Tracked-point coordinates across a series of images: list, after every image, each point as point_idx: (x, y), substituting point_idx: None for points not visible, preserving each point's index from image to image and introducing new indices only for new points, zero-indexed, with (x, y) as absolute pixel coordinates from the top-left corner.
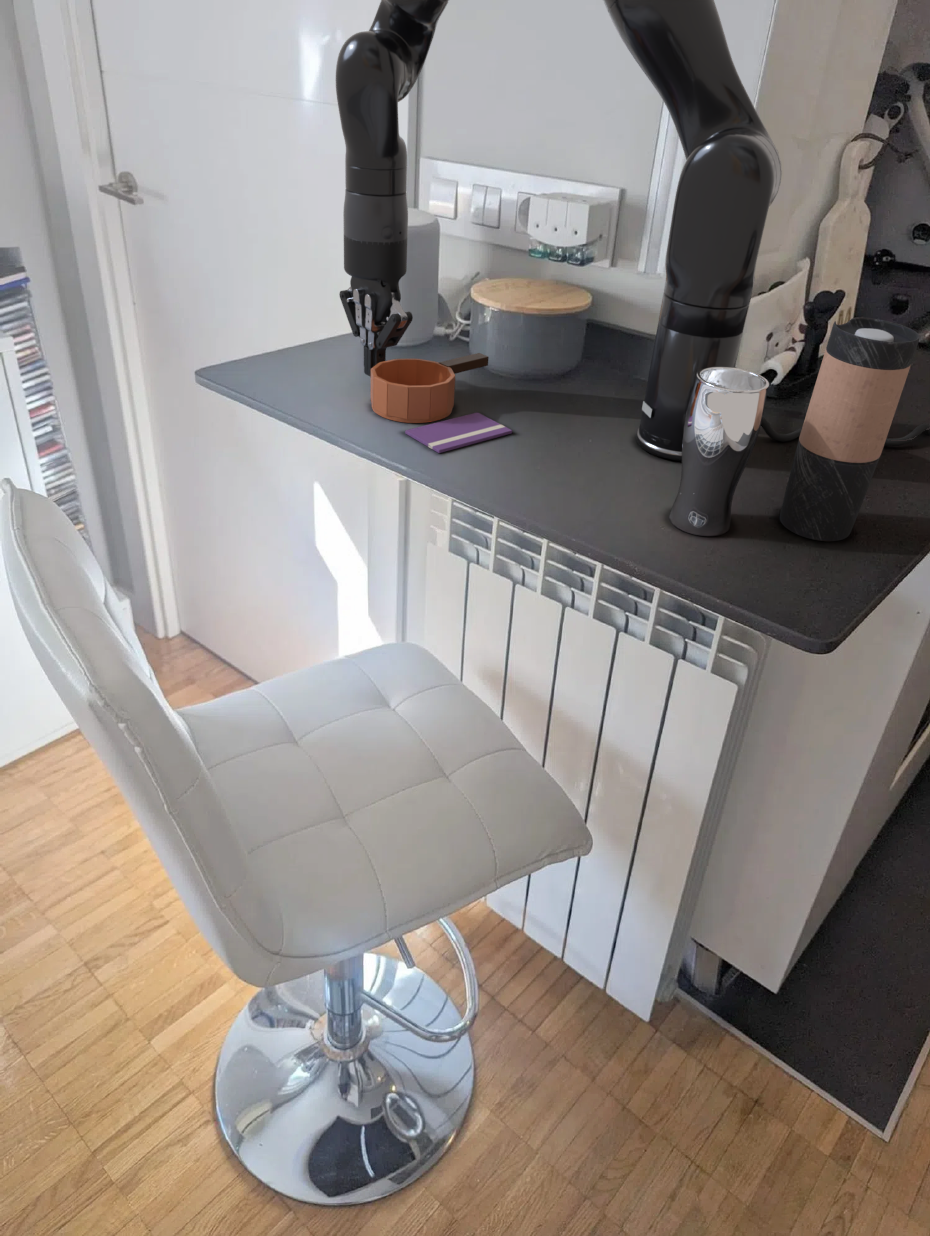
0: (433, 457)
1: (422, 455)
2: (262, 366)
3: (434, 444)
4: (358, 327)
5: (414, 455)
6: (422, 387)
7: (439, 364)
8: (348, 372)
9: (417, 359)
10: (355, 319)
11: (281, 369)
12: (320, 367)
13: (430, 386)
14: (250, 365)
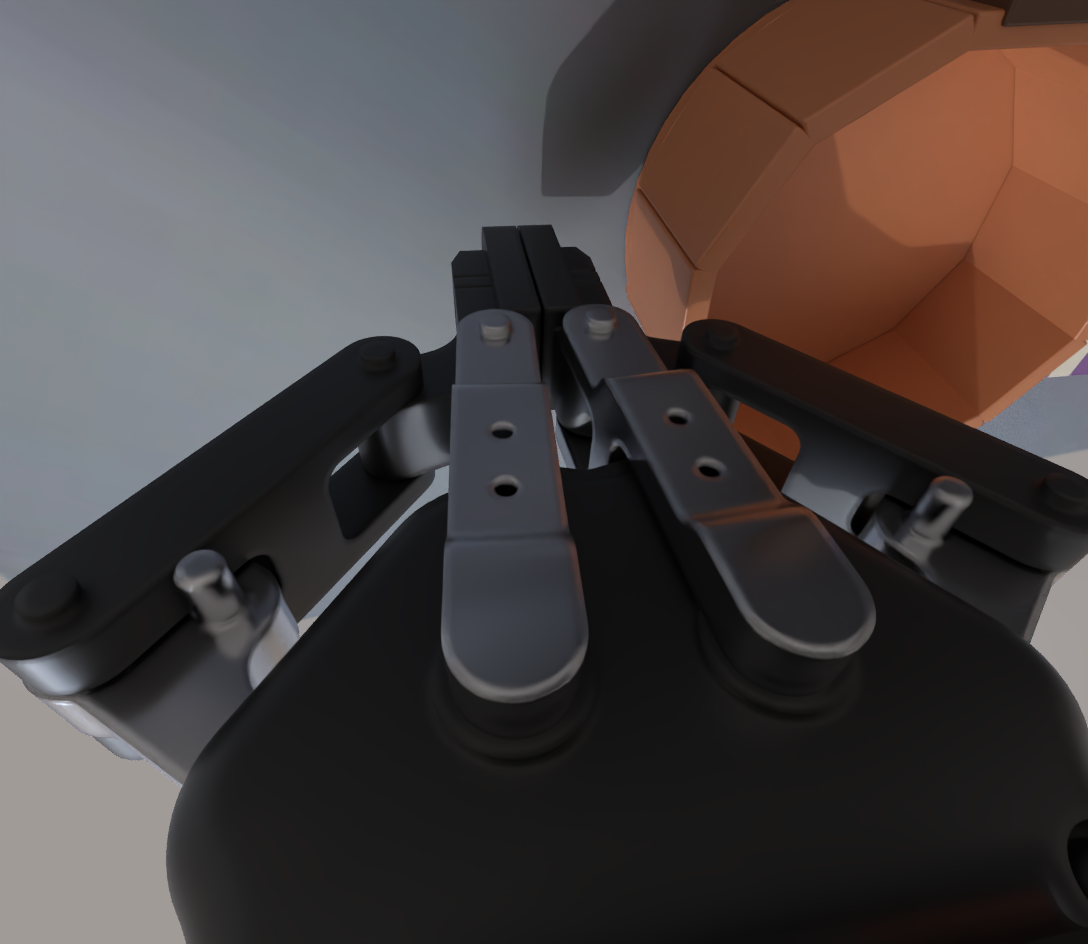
0: (1078, 391)
1: (1041, 408)
2: (56, 517)
3: (1071, 365)
4: (418, 486)
5: (1017, 425)
6: (1046, 375)
7: (1021, 44)
8: (218, 232)
9: (819, 141)
10: (372, 527)
11: (110, 474)
12: (98, 326)
13: (1085, 342)
14: (38, 544)
